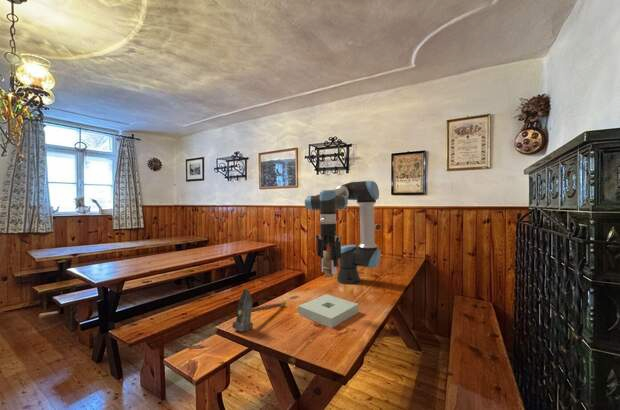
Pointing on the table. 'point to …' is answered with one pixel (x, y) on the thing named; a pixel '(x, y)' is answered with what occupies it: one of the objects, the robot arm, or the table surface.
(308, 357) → the table surface
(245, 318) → the hammer
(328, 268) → the peg
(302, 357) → the table surface
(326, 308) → the board
